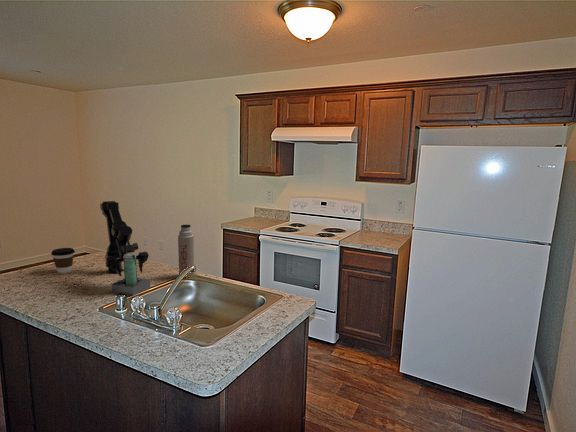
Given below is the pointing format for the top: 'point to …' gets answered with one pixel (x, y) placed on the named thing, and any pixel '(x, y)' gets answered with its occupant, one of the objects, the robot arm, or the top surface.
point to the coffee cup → (63, 259)
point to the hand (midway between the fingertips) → (131, 274)
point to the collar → (130, 287)
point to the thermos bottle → (186, 248)
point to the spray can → (130, 268)
